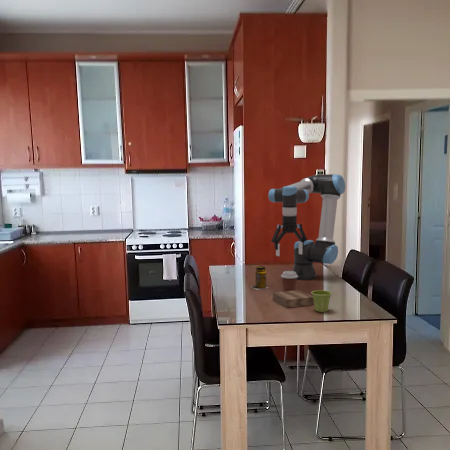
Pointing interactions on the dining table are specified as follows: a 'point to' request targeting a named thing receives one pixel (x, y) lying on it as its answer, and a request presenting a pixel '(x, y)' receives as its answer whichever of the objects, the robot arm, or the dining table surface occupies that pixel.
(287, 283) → the coffee cup
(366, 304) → the dining table surface
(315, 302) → the plant pot
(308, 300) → the base slab
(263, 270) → the condiment
